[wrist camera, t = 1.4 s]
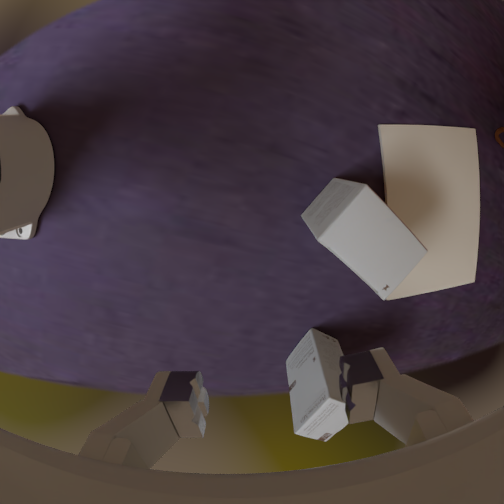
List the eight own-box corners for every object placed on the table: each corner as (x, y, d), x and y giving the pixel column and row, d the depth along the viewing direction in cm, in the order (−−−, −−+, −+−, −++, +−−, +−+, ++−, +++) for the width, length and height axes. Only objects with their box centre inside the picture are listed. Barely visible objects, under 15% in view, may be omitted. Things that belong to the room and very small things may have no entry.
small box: (384, 225, 31) (431, 252, 21) (351, 262, 32) (385, 303, 22) (333, 175, 30) (367, 181, 20) (298, 215, 31) (316, 240, 21)
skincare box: (310, 325, 35) (328, 394, 23) (339, 339, 35) (366, 406, 24) (283, 362, 36) (290, 434, 25) (312, 373, 37) (327, 443, 25)
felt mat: (385, 298, 34) (387, 300, 33) (377, 125, 28) (379, 124, 27) (472, 280, 33) (474, 281, 32) (472, 128, 27) (475, 128, 26)
